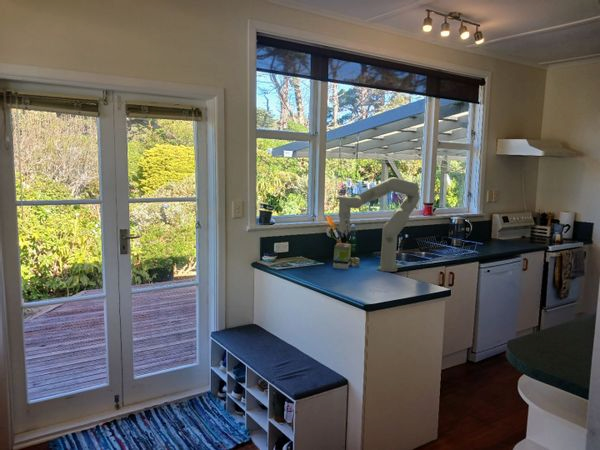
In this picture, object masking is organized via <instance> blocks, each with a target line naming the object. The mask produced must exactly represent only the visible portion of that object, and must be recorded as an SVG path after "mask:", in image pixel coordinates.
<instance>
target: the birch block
mask: <svg viewBox="0 0 600 450" xmlns="http://www.w3.org/2000/svg"><path fill="white" fill-rule="evenodd" d="M349 266H350V267H351V266H352V267H360V258H359V257H354V256H353V257H350V265H349Z"/></svg>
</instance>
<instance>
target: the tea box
mask: <svg viewBox="0 0 600 450" xmlns="http://www.w3.org/2000/svg"><path fill="white" fill-rule="evenodd" d="M351 252H352V244H351V243H341V242H337V243H336V244H335V245H334V249H333V260H332V261H333V262H332V263H333V264H332V268H333V269H341V270H348V269H349V267H350V266H351V265H350V258H351Z"/></svg>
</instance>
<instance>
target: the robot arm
mask: <svg viewBox="0 0 600 450" xmlns="http://www.w3.org/2000/svg"><path fill="white" fill-rule="evenodd" d="M419 190H420V188H419V186H418V185H417V183H416V182H413V181H409V180H404V179H401V178H398V177H394V176H393V177H392V176H391V177H389V178H387V179H386V180H384V181H382V182H379V183H377V184H376V185H374V186H372V187H370V188H369V189H366V190H364V191H363V192H361V193H359V194H357V195H354V196H352V197H350V196H346V195H345V196H343V195H342V196H340V197H339V199H338V201H339V202H338V218H339V223H338V230H339V232H340V243H344V244H347V236H348V234H349V233H351V219H350V218H351V208H352V209H361V207H362V206H364V205H365V204H368V203H369V202H371V201H374V200H378V199H381V198H382V197H385V196H386V195H389V194H391V193H392V192H393V193H398V194H402V195H404V196H405V197H404V199H403V201H402V202H401V203H400V205H399V206H398V207H397V208H396V209H395V211H394V212H393V214H392V215H393V216H392V217H391V218H390V220H389V221H387V222H385V223H384V225H383V227H382V231H381V233H382V235H381V250H380V251H381V252H380V253H381V254H380V264H379V265H380V266H377V269H378V271H381V272H387V273H389V272H390V273H391V272H397V271H398V268H402V267H403V264H399V263H396V260H397V257H396V256H397V245H398V235H399V234H400V233H401V231H402V230H403V229H404V228H405V227H406V225H407V224H408V222H409V220H410V215H411V214H412V213H413V211H414V210H415V208H416V207H417V205H418V203H419V201H420V200H419V199H420V192H419Z"/></svg>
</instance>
